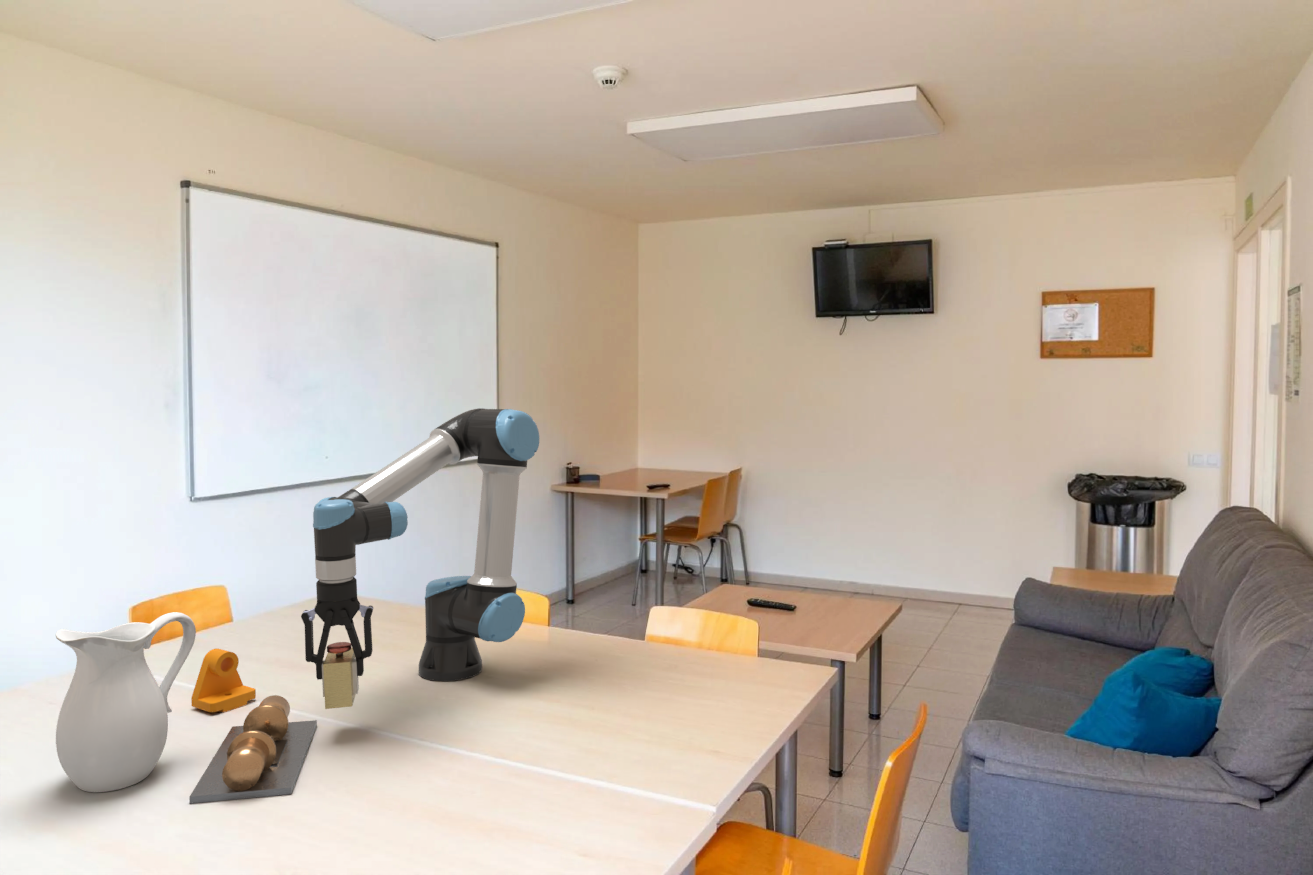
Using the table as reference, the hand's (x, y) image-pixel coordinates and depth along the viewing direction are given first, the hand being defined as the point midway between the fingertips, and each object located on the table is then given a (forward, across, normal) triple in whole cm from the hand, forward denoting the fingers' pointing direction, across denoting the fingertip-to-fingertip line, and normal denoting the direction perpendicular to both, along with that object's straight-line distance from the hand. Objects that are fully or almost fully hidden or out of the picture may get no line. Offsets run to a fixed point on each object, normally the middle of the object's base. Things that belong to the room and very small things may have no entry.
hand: (341, 692), depth 178 cm
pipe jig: (+8, +14, +10) cm, 19 cm away
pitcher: (+8, +35, +10) cm, 37 cm away
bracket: (+9, +27, -22) cm, 36 cm away
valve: (+1, 0, 0) cm, 1 cm away
